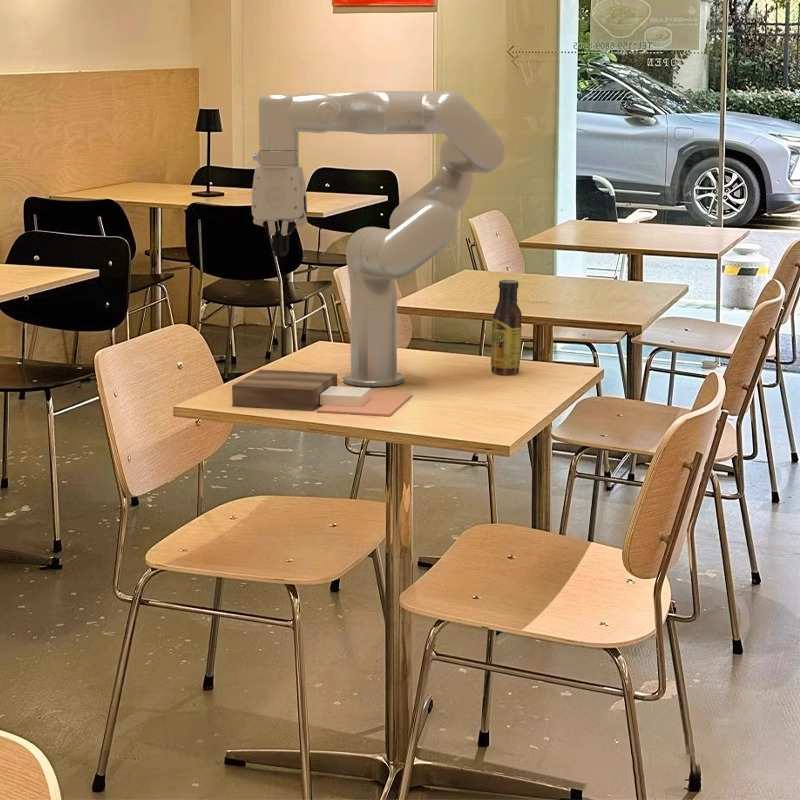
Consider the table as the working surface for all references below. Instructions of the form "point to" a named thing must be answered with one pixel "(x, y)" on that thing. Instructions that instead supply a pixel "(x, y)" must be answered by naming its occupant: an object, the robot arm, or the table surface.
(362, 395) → the cream block
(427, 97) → the robot arm
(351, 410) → the mat
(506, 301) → the sauce bottle
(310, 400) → the deck
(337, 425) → the table surface
